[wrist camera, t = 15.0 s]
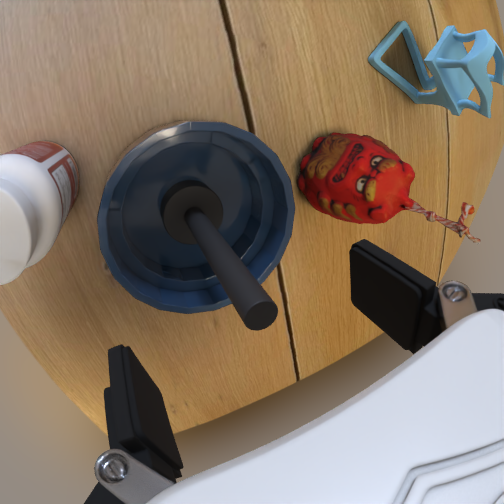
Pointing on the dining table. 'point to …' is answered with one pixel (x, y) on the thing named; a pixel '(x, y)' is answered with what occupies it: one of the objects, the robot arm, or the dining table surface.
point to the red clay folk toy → (363, 182)
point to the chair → (447, 68)
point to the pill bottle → (33, 203)
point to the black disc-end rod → (215, 248)
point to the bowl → (219, 181)
